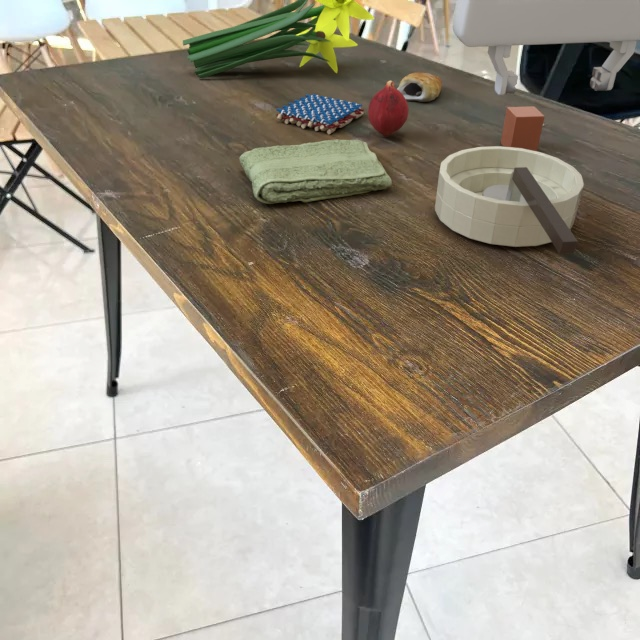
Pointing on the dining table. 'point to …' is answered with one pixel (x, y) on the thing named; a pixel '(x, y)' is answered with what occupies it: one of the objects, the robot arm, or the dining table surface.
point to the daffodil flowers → (278, 36)
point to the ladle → (535, 207)
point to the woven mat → (320, 113)
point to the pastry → (420, 87)
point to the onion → (388, 110)
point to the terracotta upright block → (522, 128)
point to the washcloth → (313, 171)
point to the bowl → (499, 215)
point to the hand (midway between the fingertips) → (552, 90)
